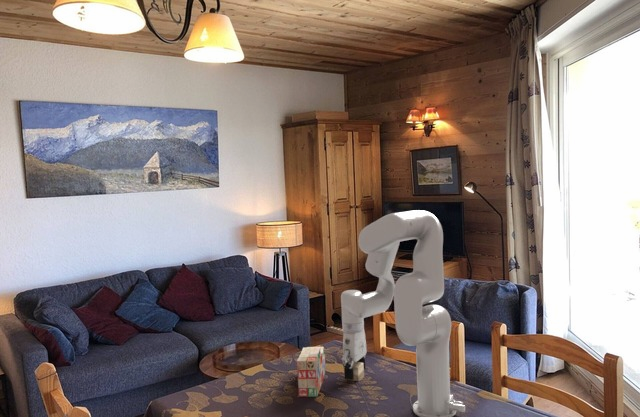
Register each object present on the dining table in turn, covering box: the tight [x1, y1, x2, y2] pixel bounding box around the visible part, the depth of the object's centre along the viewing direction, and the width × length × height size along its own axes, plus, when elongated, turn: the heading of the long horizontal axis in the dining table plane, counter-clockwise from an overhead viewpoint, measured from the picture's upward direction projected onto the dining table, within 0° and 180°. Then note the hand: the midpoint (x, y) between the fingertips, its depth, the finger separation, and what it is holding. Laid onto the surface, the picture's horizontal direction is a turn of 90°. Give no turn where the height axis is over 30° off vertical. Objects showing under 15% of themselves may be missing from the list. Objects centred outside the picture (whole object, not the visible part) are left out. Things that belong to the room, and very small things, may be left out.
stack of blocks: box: [296, 346, 326, 398], centre depth 174 cm, size 21×6×12 cm, turn 172°
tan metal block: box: [348, 362, 365, 382], centre depth 176 cm, size 4×4×5 cm
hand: (355, 373), depth 177 cm, fingers open, 9 cm apart
